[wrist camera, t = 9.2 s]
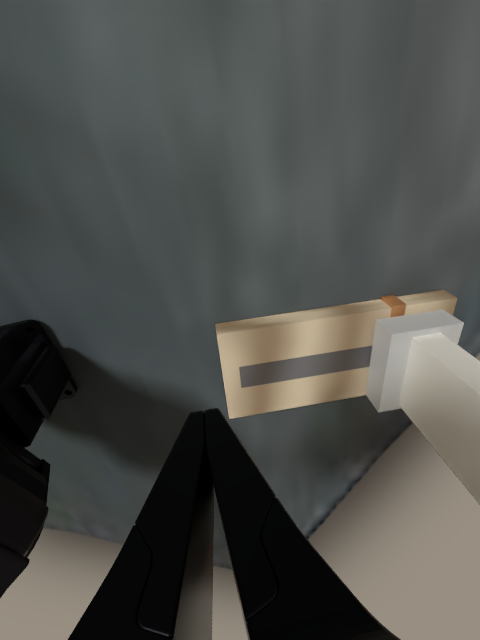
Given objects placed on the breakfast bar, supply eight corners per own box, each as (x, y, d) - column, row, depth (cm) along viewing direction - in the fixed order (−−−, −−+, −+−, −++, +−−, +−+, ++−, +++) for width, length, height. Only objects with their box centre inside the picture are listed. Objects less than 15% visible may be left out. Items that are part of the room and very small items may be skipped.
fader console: (227, 407, 27) (229, 421, 25) (214, 321, 23) (216, 333, 21) (422, 374, 28) (434, 385, 27) (443, 287, 24) (459, 296, 23)
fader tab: (365, 394, 26) (497, 579, 15) (376, 319, 22) (559, 488, 11) (423, 384, 26) (594, 557, 15) (442, 309, 23) (682, 463, 12)
